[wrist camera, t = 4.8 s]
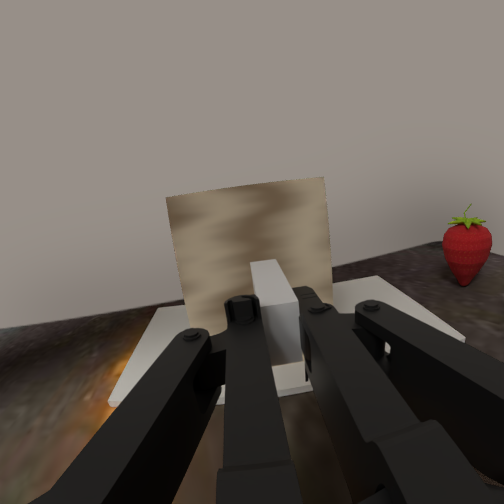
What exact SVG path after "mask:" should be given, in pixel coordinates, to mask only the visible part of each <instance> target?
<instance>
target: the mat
mask: <svg viewBox="0 0 504 504" xmlns="http://www.w3.org/2000/svg"><path fill="white" fill-rule="evenodd" d="M366 300H377V301H381V302H384V303H386V304H388V305H390V306H392V307H394V308H396V309H398V310H400V311H402V312H404V313H406V314H408V315H410V316H412V317H414V318H416V319H418V320H420V321H422V322H424V323H426V324H428V325H430V326H432V327H434V328H436V329H438V330H440V331H442V332H444V333H446V334H448V335H450V336H452V337H454V338H456V339H458V340H460V341H462V342H464V343H465V338H466V337H464V336H463V335H462V334H460V333H459V332H457V331H456V330H455V329H453V328H452V327H451V326H449V325H448V324H446V323H445V322H444V321H442V320H441V319H440V318H438V317H437V316H435V315H434V314H433V313H431V312H430V311H428V310H427V309H425V308H424V307H423V306H421V305H420V304H418V303H417V302H415V301H414V300H413V299H411V298H410V297H408V296H407V295H405V294H404V293H402V292H401V291H399V290H398V289H397V288H395V287H394V286H392V285H391V284H389V283H388V282H386V281H385V280H383V279H382V278H380V277H379V276H372V277H366V278H361V279H355V280H350V281H344V282H339V283H333V306H334V307H335V308H336V310H337V311H338V312H339V313H355V306H356V304H358V303H360V302H362V301H366ZM189 328H190V323H189V319H188V315H187V310H186V305H180V306H171V307H162V308H158V309H157V311H156V313H155V314H154V316H153V318H152V320H151V321H150V323H149V325H148V327H147V329H146V330H145V332H144V334H143V336H142V338H141V339H140V341H139V343H138V345H137V347H136V348H135V350H134V352H133V354H132V356H131V358H130V359H129V361H128V363H127V365H126V367H125V369H124V371H123V373H122V374H121V376H120V378H119V380H118V382H117V384H116V386H115V388H114V390H113V392H112V394H111V396H110V398H109V400H108V402H109V404H110V406H111V407H118V405H119V404H120V403H121V402H122V401H123V399H124V398H125V397H126V396H127V394H128V393H129V392H130V391H131V389H132V388H133V387H134V386H135V385H136V383H137V382H138V381H139V380H140V378H141V377H142V376H143V375H144V374H145V372H146V371H147V370H148V369H149V368H150V366H151V365H152V364H153V363H154V361H155V360H156V359H157V358H158V357H159V355H160V354H161V353H162V352H163V350H164V349H165V348H166V347H167V346H168V344H169V343H170V342H171V341H172V340H173V338H174V337H175V336H176V335H177V334H178V333H180V332H182V331H184V330H185V329H189ZM385 351H386V352H388V353H390V346H389V344H388V343H386V344H385ZM272 370H273V375H274V380H275V385H276V389H277V394H278V397H281V396H287V395H293V394H298V393H303V392H308V391H313V388H312V385H311V383H310V380H309V378H308V381H307V382H306V381H305V361H303V362H298V363H292V364H286V365H280V366H274V367H272ZM221 387H222V391H221V394H220V397H219V399H218V401H217V403H216V405H218V404H225V385H222V386H221Z"/></svg>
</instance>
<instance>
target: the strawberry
mask: <svg viewBox="0 0 504 504" xmlns="http://www.w3.org/2000/svg"><path fill="white" fill-rule="evenodd" d="M470 206H471V204H470ZM470 206H469V207H470ZM469 207H468V208H469ZM468 208H467V209H468ZM466 211H467V210H466ZM466 211H465V212H466ZM465 212H464V216H465ZM452 219H455V220H456V221H453V222H450V223H448V224H458V225H455V226H453V227H451V228H449V229H448V230H447V232H446V233H445V234H444V238H443V243H442V246H443V250H444V255H445V259H446V261H447V263H448V265H449V267H450V269H451V271H452V273H453V274H454V275H455V277H456V278H457V280H458V282H459V284H460V285H461V286H467V285H468V284H469V283H470V282H471V280H472V279H473V278H474V276H475V275H476V274H477V273H478V272H479V271H480V269H481V268H482V266H483V265H484V263H485V262H486V260H487V259H488V256H489V253H490V250H491V247H492V236H491V233H490V232H489V230H488V229H487V228H486V227H483V226H482V224H481V223H482V222H486V221H484V220H480V219H477V217H476V218H469V219H468V218H466V217H465V218H461V217H458V218H457V217H453V218H452Z"/></svg>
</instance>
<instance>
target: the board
mask: <svg viewBox="0 0 504 504" xmlns="http://www.w3.org/2000/svg"><path fill="white" fill-rule="evenodd" d="M166 203H167V209H168V215H169V221H170V228H171V234H172V239H173V245H174V251H175V256H176V261H177V267H178V272H179V277H180V282H181V287H182V291H183V296H184V301H185V305H186V310H187V315H188V319H189V323H190V328H203V329H206V330H208V332H209V334H210V336H212V335H216V334H219V333H221V332H223V331H225V330H226V329H227V318H226V313H225V307H224V302H225V301H226V300H227V299H229V298H231V297H234V296H238V295H252V294H254V288H253V281H252V273H251V266H250V262H256V261H264V260H271V259H276V260H277V262H278V264H279V266H280V268H281V270H282V271H283V273H284V275H285V277H286V279H287V281H288V282H289V284H290V286H291V288H295V287H301V286H308V287H310V288H312V289H313V290H314V291H315V293H316V294H317V295H318V297H319V298H320V299H321V301H322V302H323V303H328V304H331V305H333V284H332V265H331V249H330V238H329V237H330V235H329V223H328V212H327V202H326V192H325V183H324V177H316V178H306V179H296V180H286V181H277V182H269V183H260V184H253V185H245V186H237V187H230V188H223V189H216V190H209V191H203V192H196V193H190V194H184V195H178V196H172V197H167V198H166ZM302 358H303V361H304V355H303V352H302ZM303 361H300V362H303ZM294 363H298V362H294ZM288 364H292V363H288ZM282 365H286V364H282ZM276 366H280V365H276ZM272 367H274V366H272Z"/></svg>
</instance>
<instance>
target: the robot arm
mask: <svg viewBox="0 0 504 504" xmlns="http://www.w3.org/2000/svg"><path fill="white" fill-rule="evenodd" d="M250 266H251V273H252V281H253V288H254V294H252V295H238V296H234V297H231V298H229V299H227V300H226V301H225V302H224V307H225V313H226V318H227V329H226V330H225V331H223V332H221V333H219V334H216V335H212V336H210V334H209V332H208V330H206V329H203V328H189V329H185V330H184V331H182V332H180V333H178V334H177V335H176V336H175V337H174V338H173V340H172V341H171V342H170V343H169V344H168V346H167V347H166V348H165V349H164V350H163V352H162V353H161V354H160V355H159V357H158V358H157V359H156V360H155V361H154V363H153V364H152V365H151V366H150V368H149V369H148V370H147V371H146V372H145V374H144V375H143V376H142V377H141V378H140V380H139V381H138V382H137V383H136V385H135V386H134V387H133V388H132V389H131V391H130V392H129V393H128V394H127V396H126V397H125V398H124V399H123V401H122V402H121V403H120V404H119V405H118V407H117V408H116V409H115V410H114V412H113V413H112V414H111V415H110V416H109V418H108V419H107V420H106V421H105V423H104V424H103V425H102V426H101V428H100V429H99V430H98V431H97V432H96V434H95V435H94V436H93V437H92V439H91V440H90V441H89V442H88V444H87V445H86V446H85V447H84V448H83V450H82V451H81V452H80V453H79V455H78V456H77V457H76V458H75V460H74V461H73V462H72V463H71V465H70V466H69V467H68V468H67V470H66V471H65V472H64V473H63V475H62V476H61V477H60V478H59V479H58V481H57V482H56V483H55V484H54V486H53V487H52V488H51V489H50V490H49V491H48V492H46V493H44V494H43V495H41V496H40V497H38V498H36V499H35V500H33V501H32V502H30V503H28V504H172V502H173V499H174V497H175V495H176V493H177V491H178V489H179V486H180V484H181V482H182V480H183V478H184V476H185V473H186V471H187V469H188V467H189V465H190V462H191V460H192V458H193V456H194V454H195V451H196V449H197V447H198V445H199V442H200V440H201V438H202V436H203V433H204V431H205V429H206V426H207V424H208V422H209V420H210V417H211V415H212V413H213V410H214V408H215V406H216V403H217V401H218V399H219V397H220V394H221V391H222V387H221V386H222V385H225V406H224V454H223V468H222V469H219V470H218V472H217V487H216V504H303V501H302V497H301V492H300V487H299V483H298V478H297V474H296V469H295V465H294V462H293V460H291V456H290V451H289V447H288V442H287V437H286V432H285V428H284V423H283V418H282V413H281V409H280V404H279V399H278V394H277V389H276V385H275V380H274V375H273V370H272V366H276V365H282V364H288V363H294V362H300V361H303V358H302V352H303V355H304V361H305V381H306V382H307V381H308V378H309V380H310V383H311V385H312V388H313V391H314V394H315V396H316V399H317V402H318V405H319V407H320V410H321V413H322V416H323V418H324V421H325V424H326V427H327V429H328V432H329V435H330V438H331V440H332V443H333V446H334V449H335V452H336V454H337V457H338V460H339V463H340V466H341V468H342V471H343V474H344V477H345V480H346V482H347V485H348V488H349V491H350V494H351V497H352V502H353V504H504V488H503V487H499V486H495V485H491V484H487V483H484V482H483V481H482V479H481V478H480V477H479V475H478V474H477V472H476V471H475V470H474V468H473V467H475V468H476V469H477V470H479V471H480V472H481V473H483V474H484V475H486V476H487V477H489V478H490V479H492V480H494V481H496V482H498V483H500V484H503V485H504V363H503V362H501V361H499V360H497V359H495V358H493V357H491V356H489V355H487V354H485V353H483V352H481V351H479V350H477V349H475V348H474V347H472V346H470V345H468V344H466V343H464V342H462V341H460V340H458V339H456V338H454V337H452V336H450V335H448V334H446V333H444V332H442V331H440V330H438V329H436V328H434V327H432V326H430V325H428V324H426V323H424V322H422V321H420V320H418V319H416V318H414V317H412V316H410V315H408V314H406V313H404V312H402V311H400V310H398V309H396V308H394V307H392V306H390V305H388V304H386V303H384V302H381V301H377V300H366V301H362V302H360V303H358V304H356V306H355V313H339V312H338V311H337V310H336V308H335V307H334V306H333V305H331V304H328V303H323V302H322V301H321V299H320V298H319V297H318V295H317V294H316V293H315V291H314V290H313V289H312V288H310V287H308V286H301V287H295V288H291V286H290V284H289V282H288V281H287V279H286V277H285V275H284V273H283V271H282V270H281V268H280V266H279V264H278V262H277V260H276V259H271V260H264V261H256V262H250ZM386 343H388V344H389V346H390V353H388V352H386V351H385V344H386ZM472 466H473V467H472Z"/></svg>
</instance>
